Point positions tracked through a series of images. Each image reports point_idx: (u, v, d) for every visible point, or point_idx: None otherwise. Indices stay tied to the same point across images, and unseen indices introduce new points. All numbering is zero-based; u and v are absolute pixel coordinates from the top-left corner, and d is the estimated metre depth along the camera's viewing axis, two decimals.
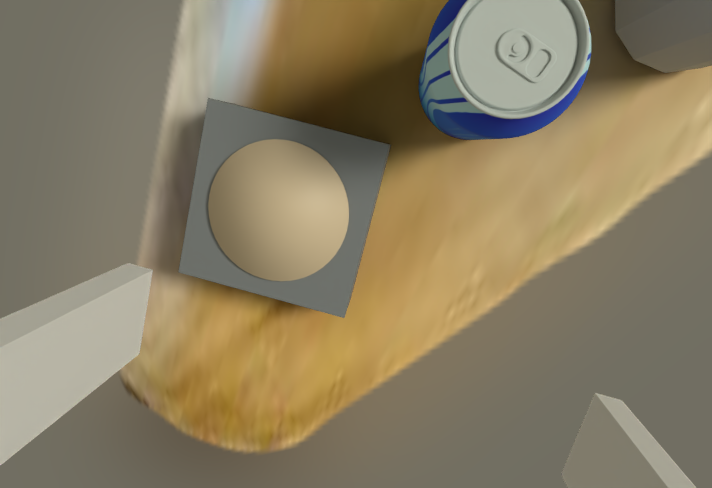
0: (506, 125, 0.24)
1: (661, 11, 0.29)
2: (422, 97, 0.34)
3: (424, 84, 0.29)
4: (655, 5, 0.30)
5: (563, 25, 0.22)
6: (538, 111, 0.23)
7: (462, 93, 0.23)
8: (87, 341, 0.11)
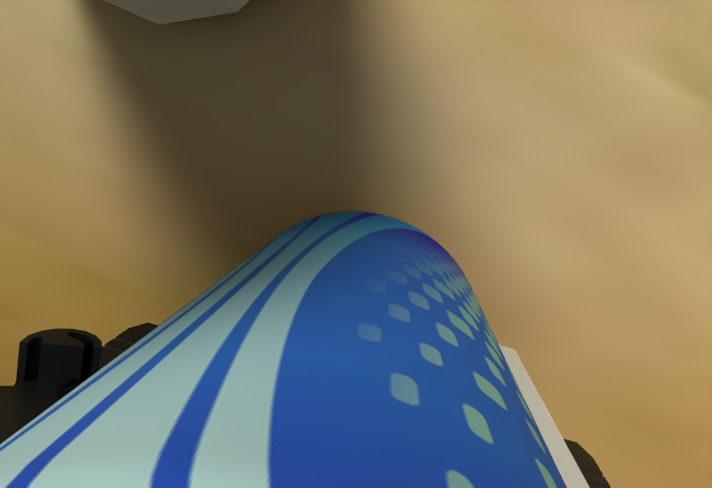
0: None
1: None
2: None
3: None
4: None
5: None
6: None
7: None
8: None
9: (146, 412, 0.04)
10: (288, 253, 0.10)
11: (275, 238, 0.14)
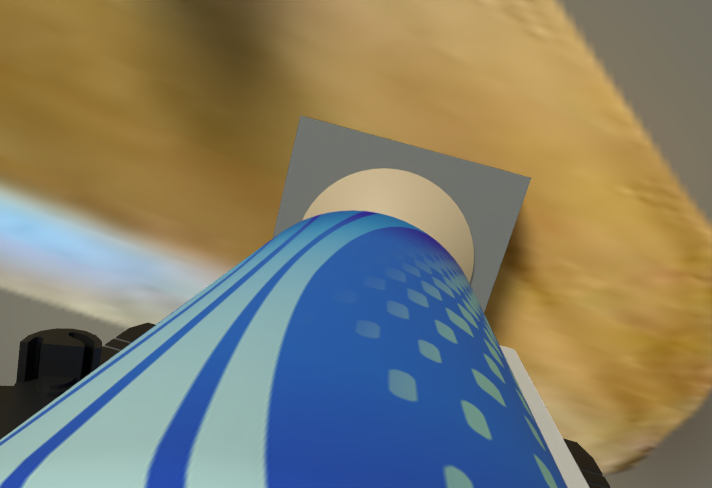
0: None
1: None
2: None
3: None
4: None
5: None
6: None
7: None
8: None
9: (142, 408, 0.04)
10: (287, 251, 0.10)
11: (274, 237, 0.14)
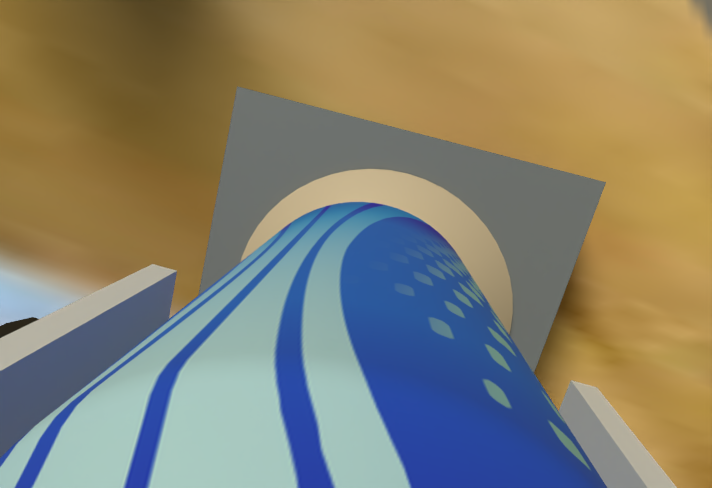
0: None
1: None
2: None
3: None
4: None
5: None
6: None
7: None
8: (118, 340, 0.11)
9: (248, 332, 0.05)
10: (314, 232, 0.11)
11: (289, 224, 0.15)
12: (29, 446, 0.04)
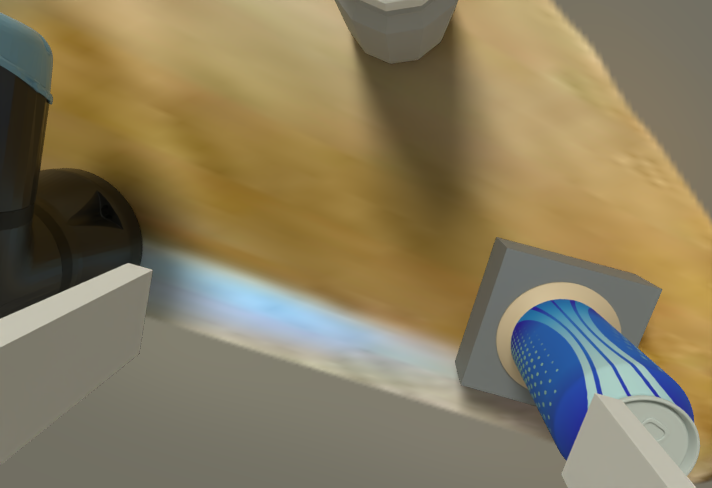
0: None
1: (422, 44, 0.37)
2: None
3: None
4: (416, 48, 0.38)
5: None
6: (697, 434, 0.27)
7: None
8: (87, 341, 0.11)
9: (617, 358, 0.30)
10: (579, 323, 0.35)
11: (541, 310, 0.40)
12: (590, 376, 0.29)
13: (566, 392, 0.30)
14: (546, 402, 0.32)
